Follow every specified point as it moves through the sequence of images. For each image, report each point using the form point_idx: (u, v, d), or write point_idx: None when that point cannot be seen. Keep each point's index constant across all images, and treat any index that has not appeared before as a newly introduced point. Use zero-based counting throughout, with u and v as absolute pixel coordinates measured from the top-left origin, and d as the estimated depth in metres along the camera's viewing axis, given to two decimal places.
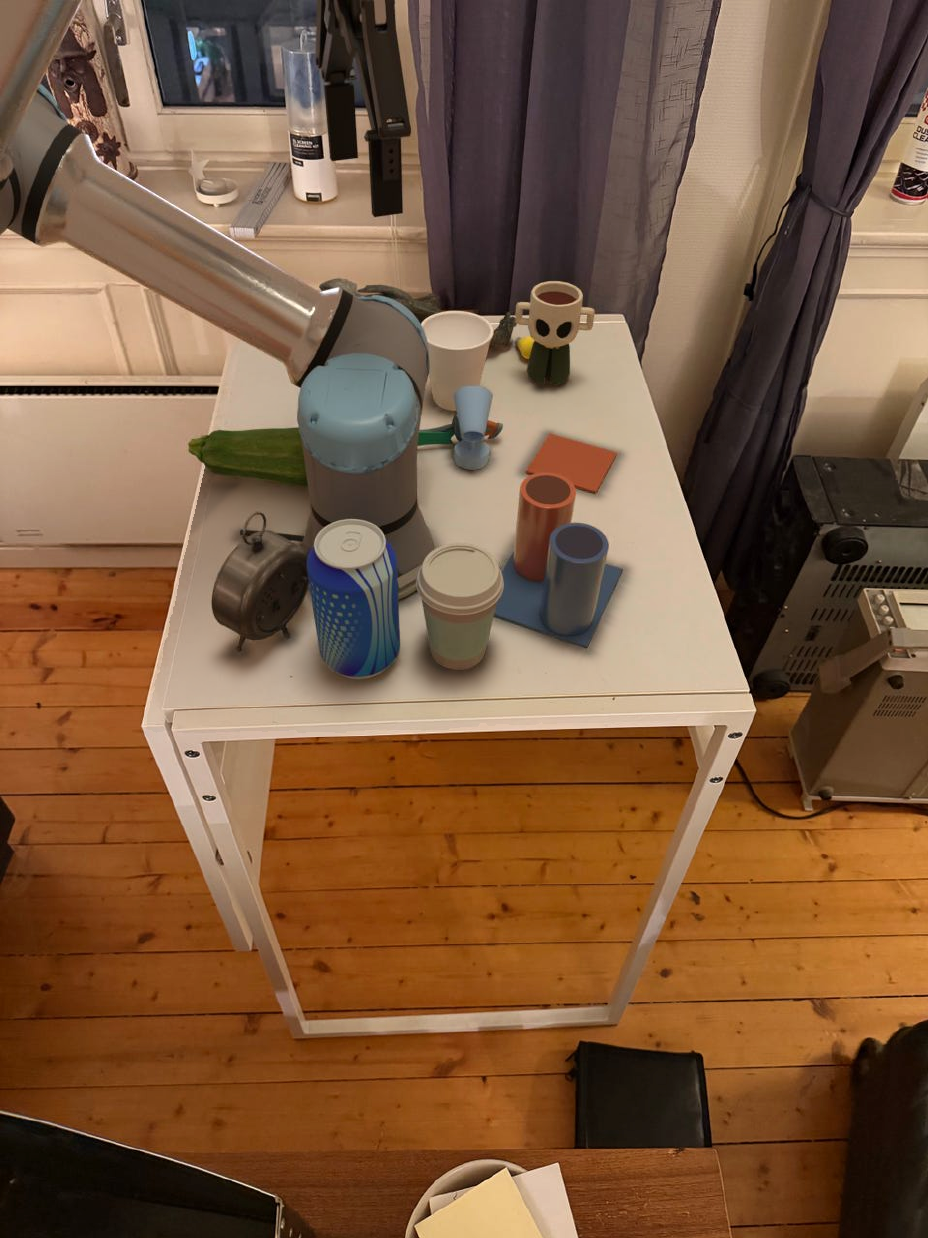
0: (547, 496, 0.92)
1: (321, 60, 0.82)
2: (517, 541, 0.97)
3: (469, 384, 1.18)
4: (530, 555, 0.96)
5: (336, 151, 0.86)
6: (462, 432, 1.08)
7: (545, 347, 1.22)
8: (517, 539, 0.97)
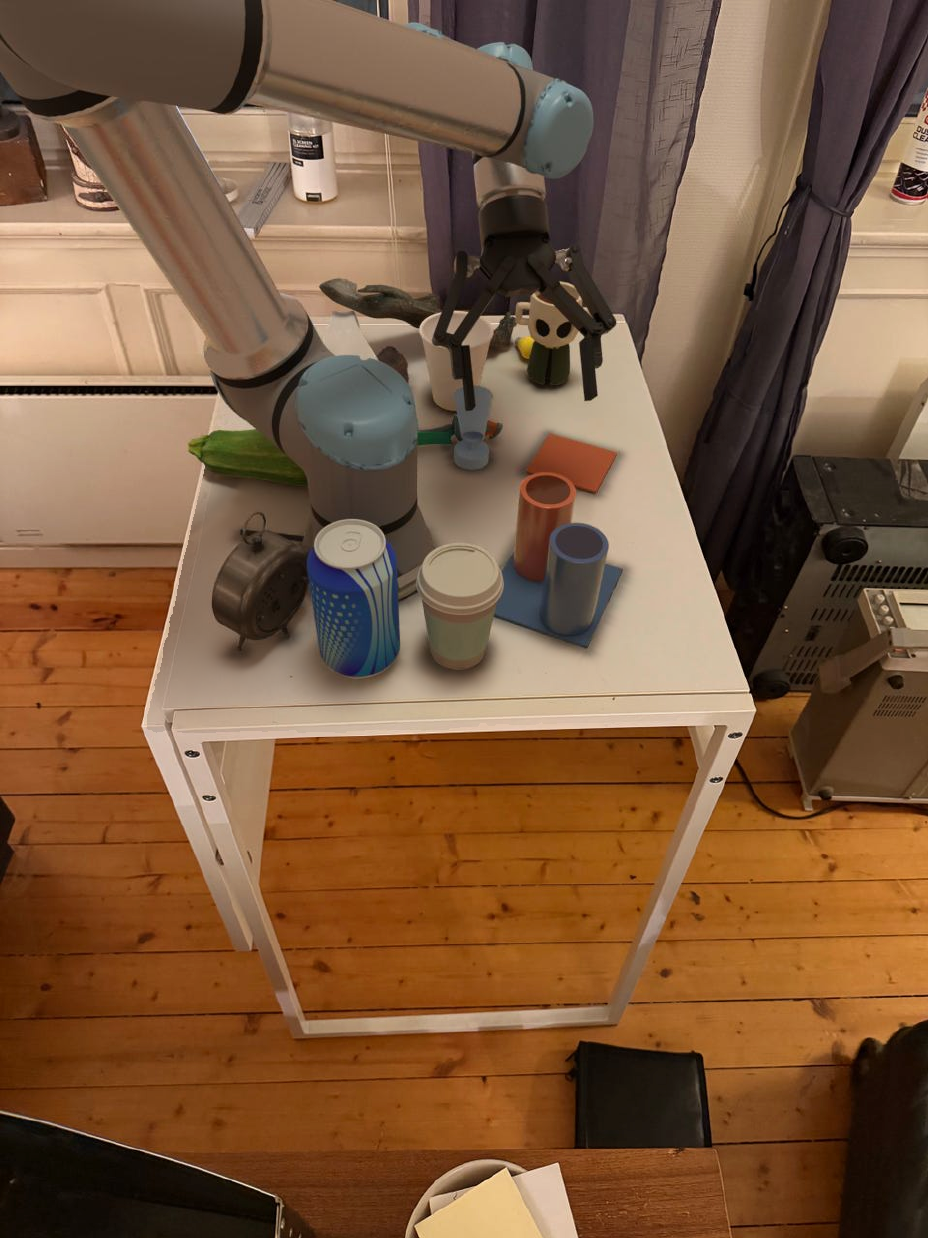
0: (547, 496, 0.92)
1: (446, 332, 0.93)
2: (517, 541, 0.97)
3: None
4: (530, 555, 0.96)
5: None
6: (462, 432, 1.08)
7: (545, 347, 1.22)
8: (517, 539, 0.97)
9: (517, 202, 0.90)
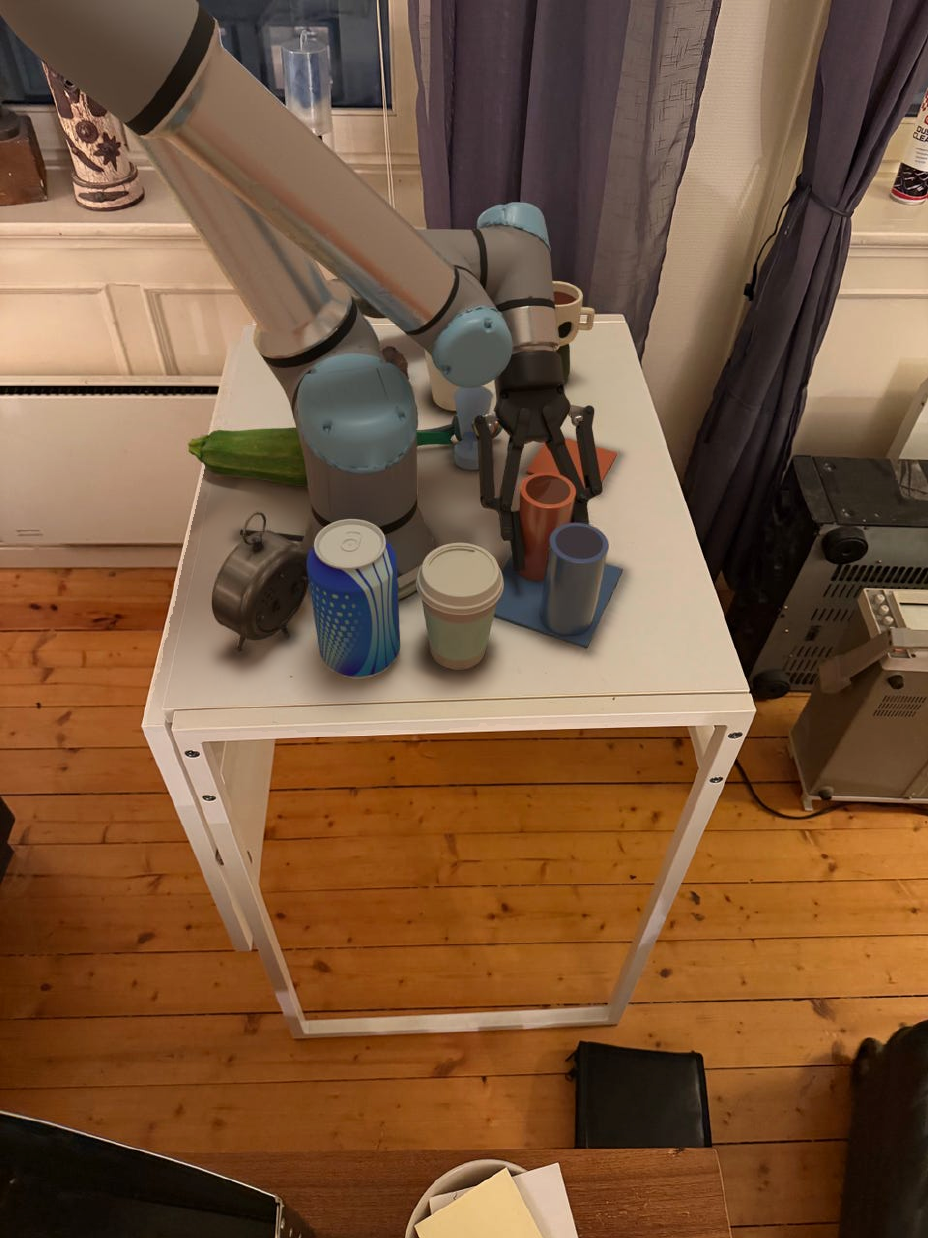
0: (547, 496, 0.92)
1: (494, 495, 0.94)
2: None
3: None
4: (530, 555, 0.96)
5: None
6: (462, 432, 1.08)
7: None
8: None
9: (533, 358, 0.91)
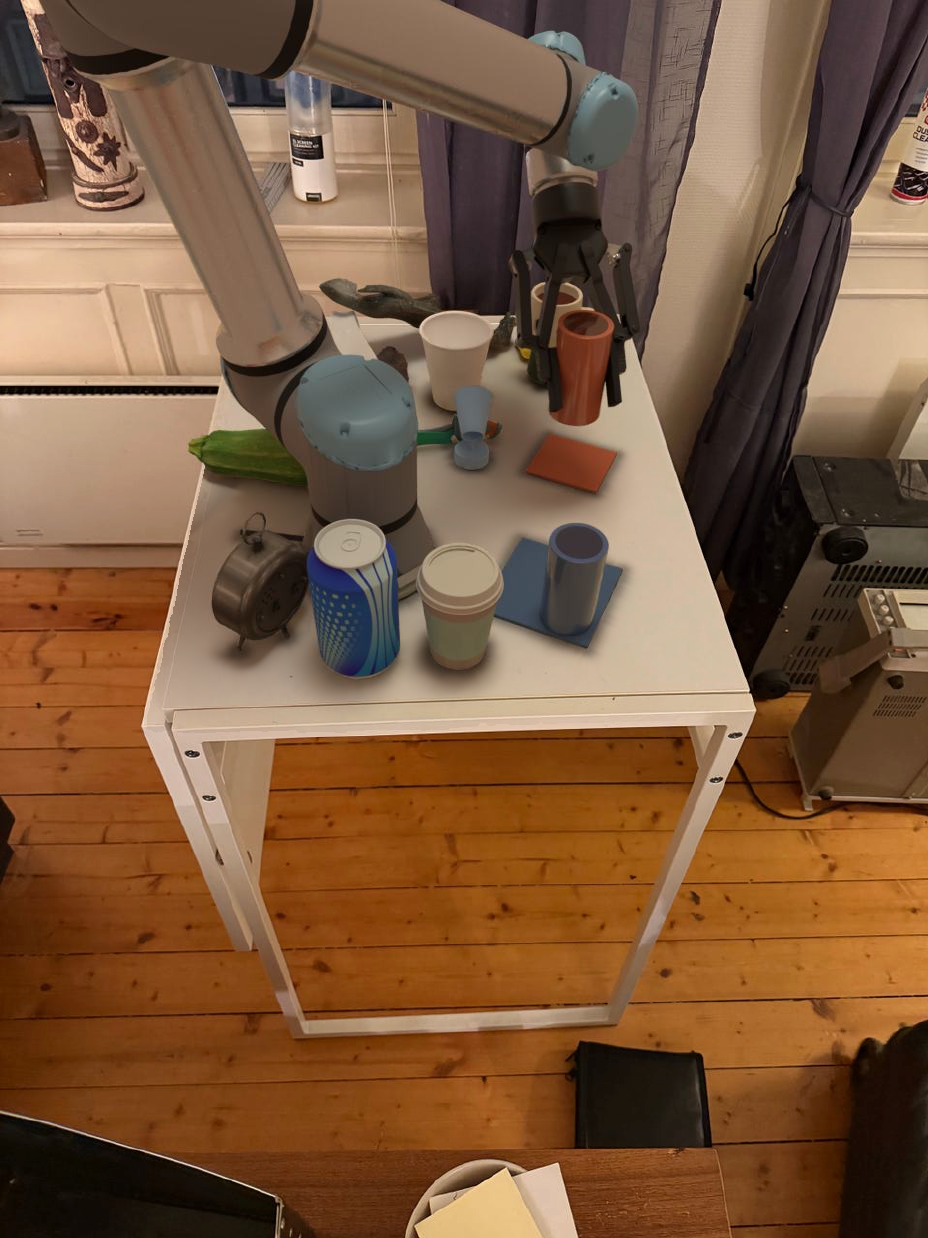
0: (585, 329, 0.92)
1: None
2: None
3: (469, 384, 1.18)
4: (567, 396, 0.96)
5: None
6: (462, 432, 1.08)
7: None
8: None
9: (572, 189, 0.91)
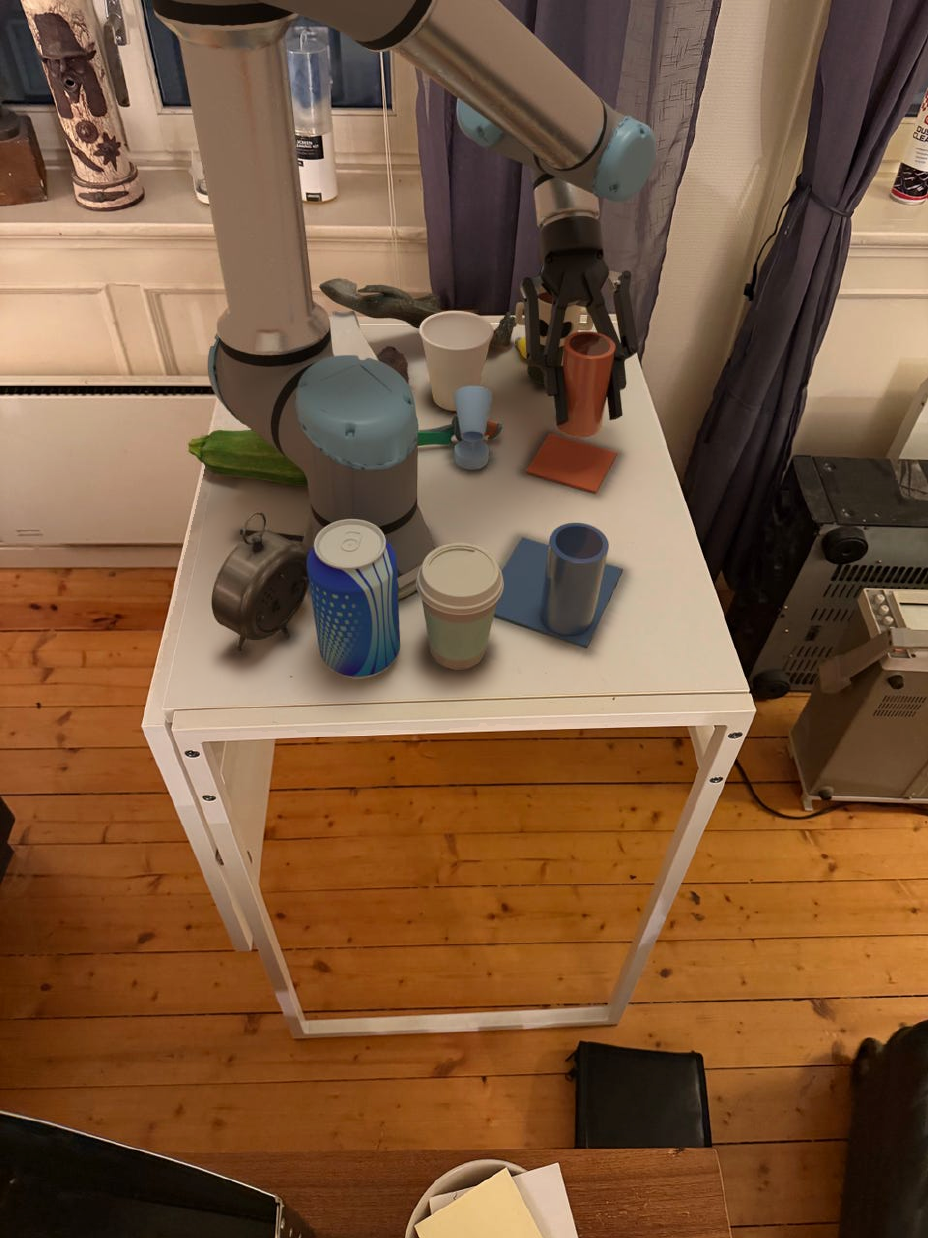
0: (589, 349, 1.01)
1: None
2: None
3: (469, 384, 1.18)
4: (572, 410, 1.05)
5: None
6: (462, 432, 1.08)
7: None
8: None
9: (576, 222, 1.00)
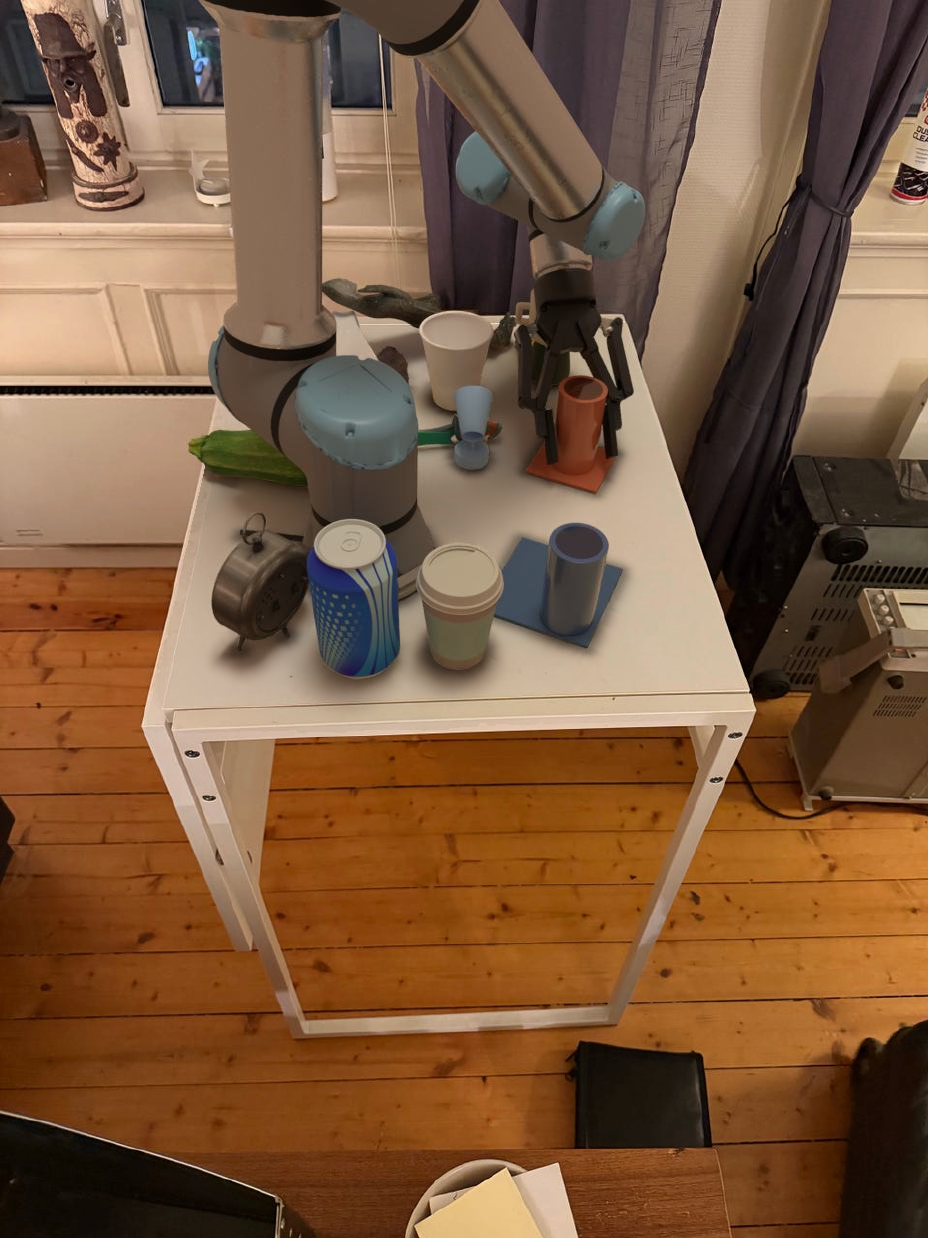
0: (582, 393, 1.05)
1: None
2: None
3: (469, 384, 1.18)
4: (566, 450, 1.09)
5: None
6: (462, 432, 1.08)
7: (545, 347, 1.22)
8: None
9: (570, 274, 1.04)
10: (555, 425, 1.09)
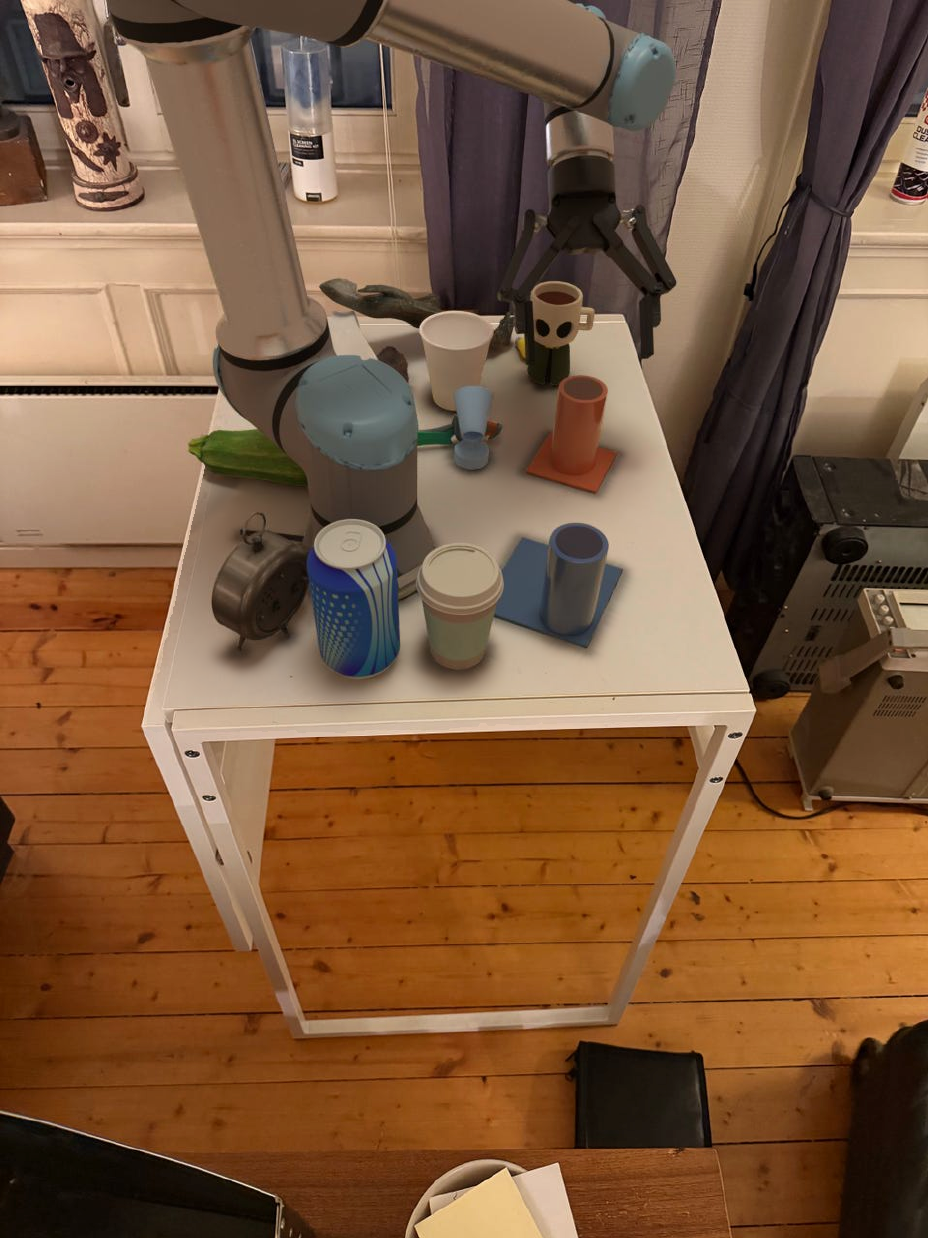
0: (582, 393, 1.05)
1: None
2: (555, 438, 1.10)
3: (469, 384, 1.18)
4: (566, 450, 1.09)
5: (534, 353, 0.98)
6: (462, 432, 1.08)
7: (545, 347, 1.22)
8: (555, 436, 1.10)
9: (586, 162, 0.94)
10: (555, 425, 1.09)
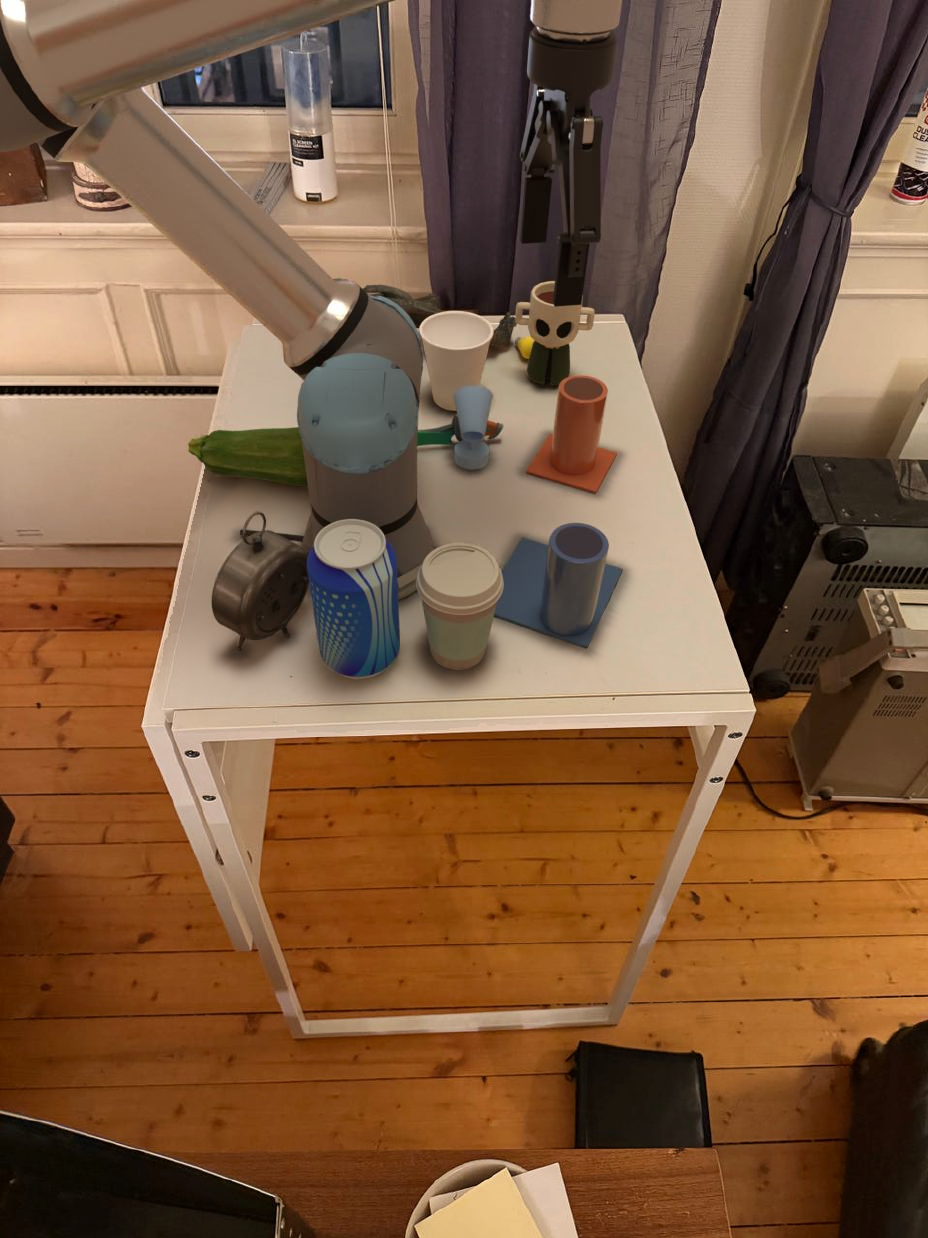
0: (582, 393, 1.05)
1: (525, 155, 0.89)
2: (555, 438, 1.10)
3: (469, 384, 1.18)
4: (566, 450, 1.09)
5: (527, 235, 0.93)
6: (462, 432, 1.08)
7: (545, 347, 1.22)
8: (555, 436, 1.10)
9: (529, 44, 0.74)
10: (555, 425, 1.09)
